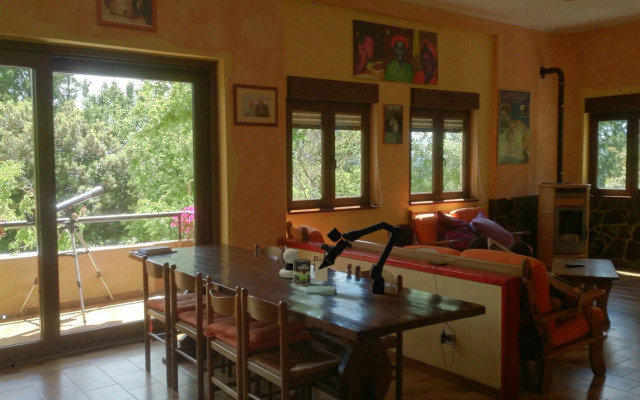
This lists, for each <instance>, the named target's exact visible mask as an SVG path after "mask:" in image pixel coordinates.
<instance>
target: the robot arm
mask: <svg viewBox="0 0 640 400" xmlns="http://www.w3.org/2000/svg"><path fill="white" fill-rule="evenodd" d="M381 230H385V231H386V232H389V237H388V240H387V242H386V245H385V246H384V248H383V250H382V252H381V254H380V255H379V257H378V260H377V261H376V262H375V264H374V263H372V264H371V267H370V268H369V275H370V278H371V279H372V283H371V292H372V294H375V295H379V294H380V295H385V285H386V284H385V283H386V282H385V281H386V280H385V278H384V276H383V275H382V274H383V270H384V266H385V264H386V262H387V259H388V258H389V256H390V254H391V253H392V251H393V248H394V246H395V244H396V243H397V242H398V241H399V239H401V237H402V236H403V234H404V230H403V228H401V227H400V226H398V225H392V224H390V223H388V222H386V221H384V220H383V221H380V222H377V223H374V224H370V225H368V226H366V227H363V228H358V229H353V230H349V231H347V232H342V233H341V232H340V230H338V228H337V227H336V226H334V227H333V228H331V230H330V231H328V232H327V234H326V237H327V238H328V239H329V240H330V241H331V242H332V243H335V244H334V245H332V246H331V245H329V244H328V243H324V242H322V243H321V245H320V247H319V250H322V251H324V253H323V258H324V261H323V262H322V264H321V265H320V267H319V268H318V269H319V270H320V269H323V268H325V267H327V268H329V267H331V266H334V265H335V263H336V260H337V258H338V257H339V256H341V255H342V254H343V253H344V252H345V250H347V248H349V249H352V245H353V243H354V242H355V241H358V240H359V239H362V237H364V236H367V235H370V234H372V233H375V232H378V231H381Z"/></svg>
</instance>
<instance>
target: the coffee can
mask: <svg viewBox="0 0 640 400" xmlns="http://www.w3.org/2000/svg"><path fill="white" fill-rule="evenodd" d="M293 261H294V273H293V280H292V281H293V282H292V284H293V285H296V286H310V285H311V264H312V263H311V262H312V260H311V259H307V258H298V259H295V260H293Z"/></svg>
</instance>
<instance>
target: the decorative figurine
mask: <svg viewBox="0 0 640 400" xmlns="http://www.w3.org/2000/svg"><path fill="white" fill-rule="evenodd" d="M284 249H285V250H284V252H283V253H282V257H283V258H282V259H283V260H284V262H285V263H286V265H285V267H284V268H282V269H280V270H279V276H280V277H281V278H285V279H290V278H293V273H294V261H293V260H295V259H299V254H298V253H299V250H300V248H299V249H294V248H288V247H287V246H286V245H284Z"/></svg>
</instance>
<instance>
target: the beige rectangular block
mask: <svg viewBox="0 0 640 400" xmlns="http://www.w3.org/2000/svg"><path fill="white" fill-rule="evenodd" d="M323 261H324V257H314V282H328V267H325V268H323V269H320V270H319V269H318V268H319V267H320V265H321V264H322V262H323Z"/></svg>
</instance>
